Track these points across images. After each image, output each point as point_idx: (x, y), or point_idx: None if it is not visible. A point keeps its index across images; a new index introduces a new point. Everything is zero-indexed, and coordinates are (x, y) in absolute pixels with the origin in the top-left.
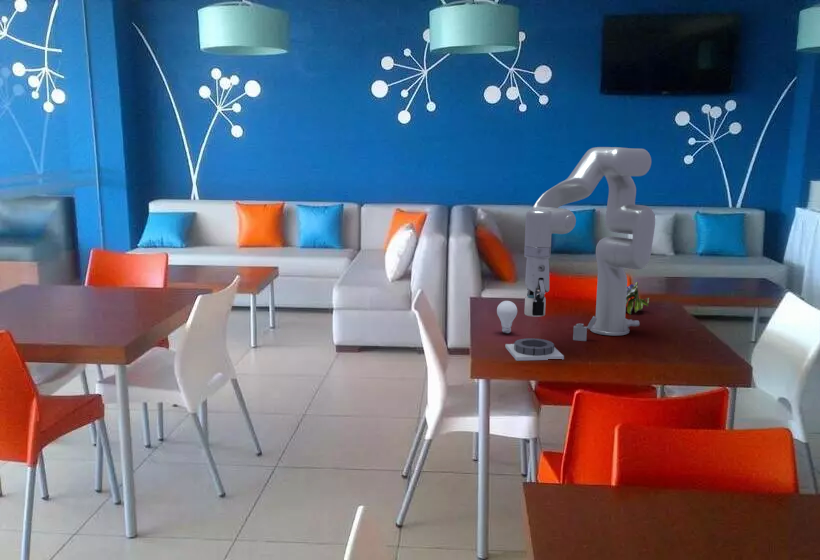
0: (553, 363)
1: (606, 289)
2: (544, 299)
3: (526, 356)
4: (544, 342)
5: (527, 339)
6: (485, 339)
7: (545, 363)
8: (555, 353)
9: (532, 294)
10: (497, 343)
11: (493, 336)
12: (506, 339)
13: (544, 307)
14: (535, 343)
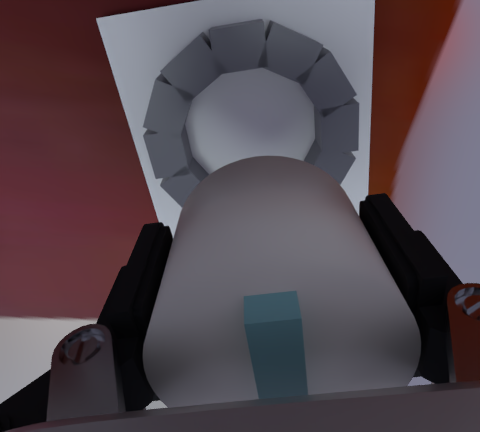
0: (429, 47)
1: None
2: (380, 278)
3: (359, 176)
4: (216, 78)
5: (174, 168)
6: (64, 292)
7: (421, 89)
8: (317, 18)
9: (127, 392)
10: (112, 257)
11: (4, 265)
12: (34, 221)
13: (341, 209)
14: (185, 121)
